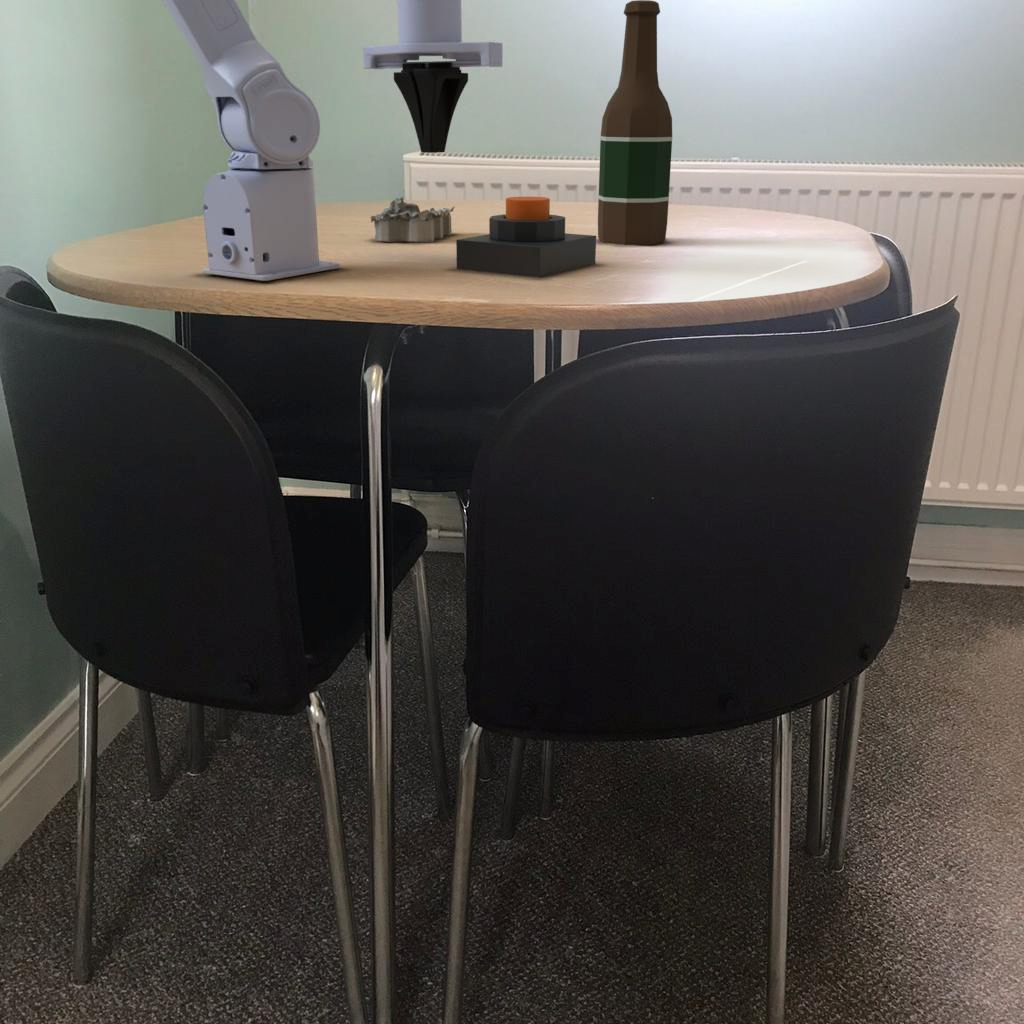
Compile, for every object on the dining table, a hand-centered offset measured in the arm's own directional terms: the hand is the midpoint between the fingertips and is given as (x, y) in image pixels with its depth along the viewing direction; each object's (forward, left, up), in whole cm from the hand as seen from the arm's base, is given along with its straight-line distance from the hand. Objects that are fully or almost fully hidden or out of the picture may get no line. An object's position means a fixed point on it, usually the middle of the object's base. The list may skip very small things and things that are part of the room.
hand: (432, 152), depth 95 cm
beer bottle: (+24, -9, -10) cm, 28 cm away
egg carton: (+13, +13, -10) cm, 21 cm away
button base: (+1, -10, -10) cm, 14 cm away
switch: (+1, -10, -6) cm, 12 cm away
